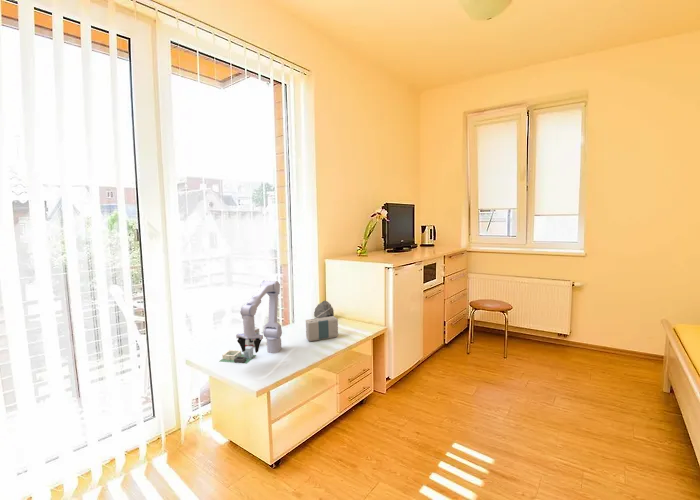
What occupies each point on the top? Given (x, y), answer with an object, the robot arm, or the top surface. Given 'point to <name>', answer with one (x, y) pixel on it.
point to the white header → (231, 354)
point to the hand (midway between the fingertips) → (250, 351)
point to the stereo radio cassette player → (321, 328)
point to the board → (239, 356)
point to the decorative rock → (323, 310)
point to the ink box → (251, 341)
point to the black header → (239, 359)
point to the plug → (248, 352)
